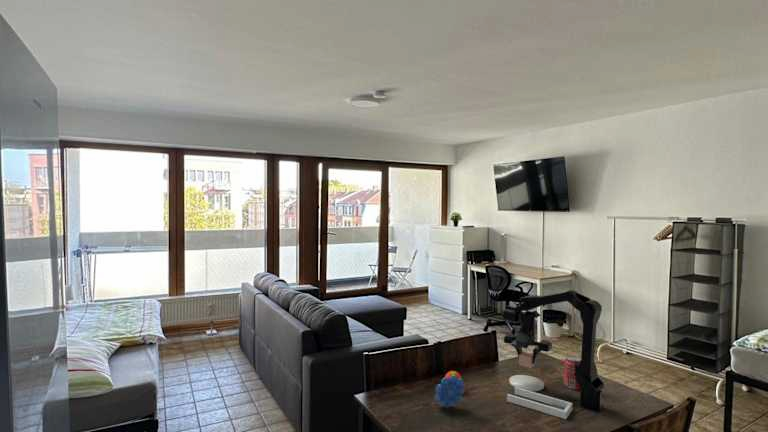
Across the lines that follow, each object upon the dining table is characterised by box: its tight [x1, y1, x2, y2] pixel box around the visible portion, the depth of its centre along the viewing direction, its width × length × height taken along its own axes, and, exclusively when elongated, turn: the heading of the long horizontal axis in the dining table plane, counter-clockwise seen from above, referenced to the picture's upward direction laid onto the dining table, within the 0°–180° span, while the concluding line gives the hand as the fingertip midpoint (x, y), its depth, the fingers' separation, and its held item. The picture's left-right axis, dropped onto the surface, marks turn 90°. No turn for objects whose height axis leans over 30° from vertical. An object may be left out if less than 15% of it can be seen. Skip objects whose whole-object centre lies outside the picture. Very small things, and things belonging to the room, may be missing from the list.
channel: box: [506, 387, 573, 420], centre depth 157 cm, size 22×9×2 cm, turn 52°
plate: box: [508, 374, 545, 392], centre depth 176 cm, size 14×14×1 cm
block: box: [518, 350, 536, 369], centre depth 176 cm, size 5×5×4 cm
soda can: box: [563, 355, 581, 390], centre depth 174 cm, size 7×7×12 cm
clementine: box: [444, 370, 462, 379], centre depth 171 cm, size 8×7×7 cm
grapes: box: [434, 375, 466, 408], centre depth 156 cm, size 12×7×12 cm, turn 96°
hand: (527, 362), depth 176 cm, fingers closed on block, 5 cm apart
